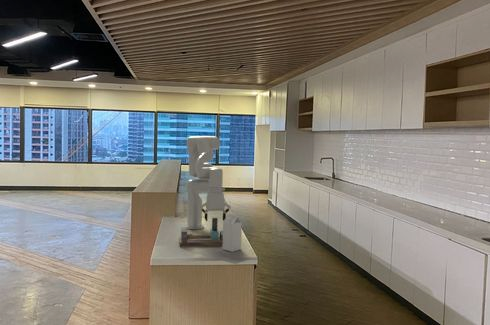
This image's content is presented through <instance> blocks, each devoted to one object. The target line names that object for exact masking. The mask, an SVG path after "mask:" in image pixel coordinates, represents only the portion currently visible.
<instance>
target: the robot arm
mask: <svg viewBox="0 0 490 325" xmlns="http://www.w3.org/2000/svg"><path fill="white" fill-rule="evenodd" d="M220 147H221V142H220V139H219V138H218V136H215V135H201V136H200V135H195V136H194V135H193V136H192V135H191V136H189V137H187V139H186V150H187V152H188V153H187V154H188V173H189V176H190V177H192V178H195V179H189V180H188V181H187V183H186V193H187V222H186V223H187V224H185V225H184V228H187V230H201V229H204V228H205V225H204V224H203V214H204V220H205V222H208V212H210V211H211V212H212V211H214V212H215V211H219V212H221V211H222V212H223V213H222V222H223V221H224V220H225V218H226V217H227V214H228V212H229V211H230V209H231V205H230V204H228V203H226V202H225V194H224V191H226V188H223V174H224V171H223V169H222V168H220V167H219V166H217V167H216V166H213V164H212V163H211V161H212V160H213V158H214V156H215V153H214V151H218V150H219V148H220ZM200 195H206V199H205V200H206V201H205V202H204V203H203V200H202V197H200ZM204 207H206V208H205V209H204ZM225 207H227V208H225Z"/></svg>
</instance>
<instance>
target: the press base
mask: <svg viewBox="0 0 490 325" xmlns="http://www.w3.org/2000/svg"><path fill="white" fill-rule="evenodd" d="M180 228H181V229H180V237H179V238H178V240H179V242H178V243H179V247H223V230H219V239H211V238H210V234H193V233H188V229H187V228H185V227H180Z"/></svg>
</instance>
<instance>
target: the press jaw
mask: <svg viewBox="0 0 490 325" xmlns="http://www.w3.org/2000/svg"><path fill="white" fill-rule="evenodd" d="M211 222H212V223H211V229H210V233H209V235H210V238H211V239H219V237H220V230H218V223H219V222H218V217H212V218H211Z"/></svg>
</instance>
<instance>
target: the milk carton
mask: <svg viewBox="0 0 490 325" xmlns="http://www.w3.org/2000/svg"><path fill="white" fill-rule="evenodd" d="M242 227H243V226H242V221H241V220H240V218H239V216H238V215H237V214H232V213H227V215H226V218H225V220H224V221H223V220H222V231H223V246H222V250H224V251H228V252H231V253H233V252H236V251H239V250H242Z"/></svg>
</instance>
